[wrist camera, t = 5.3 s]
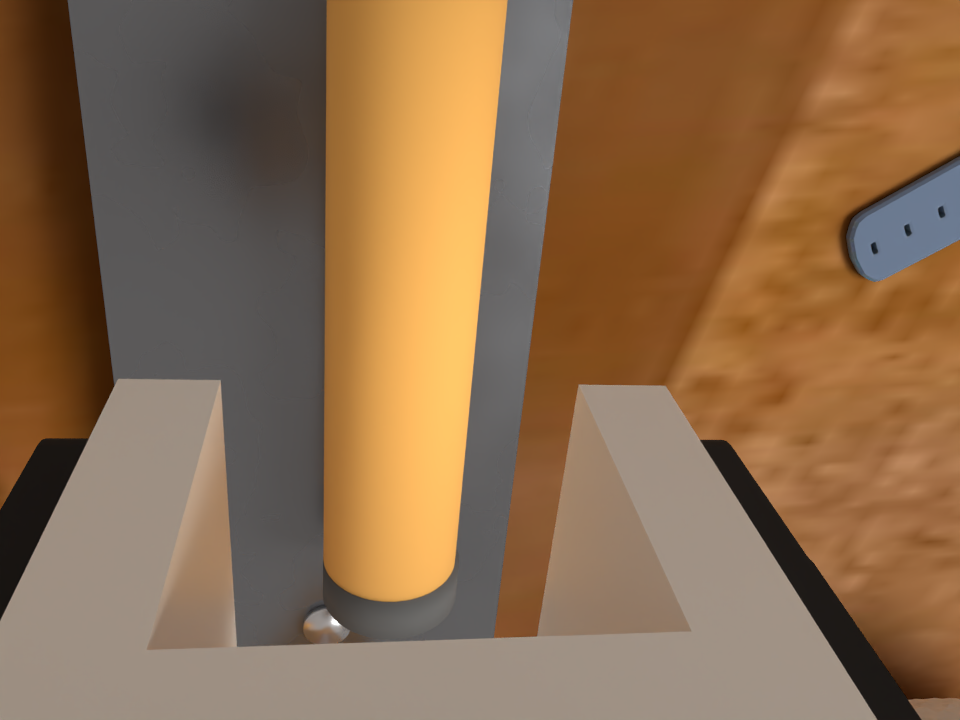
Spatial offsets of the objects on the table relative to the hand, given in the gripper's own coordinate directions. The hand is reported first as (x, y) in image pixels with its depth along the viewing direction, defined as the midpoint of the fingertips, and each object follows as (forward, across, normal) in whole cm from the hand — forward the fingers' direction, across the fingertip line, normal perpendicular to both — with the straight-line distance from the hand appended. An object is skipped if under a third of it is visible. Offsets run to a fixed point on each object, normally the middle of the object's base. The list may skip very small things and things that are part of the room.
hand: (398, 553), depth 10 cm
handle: (+9, +1, +1) cm, 9 cm away
